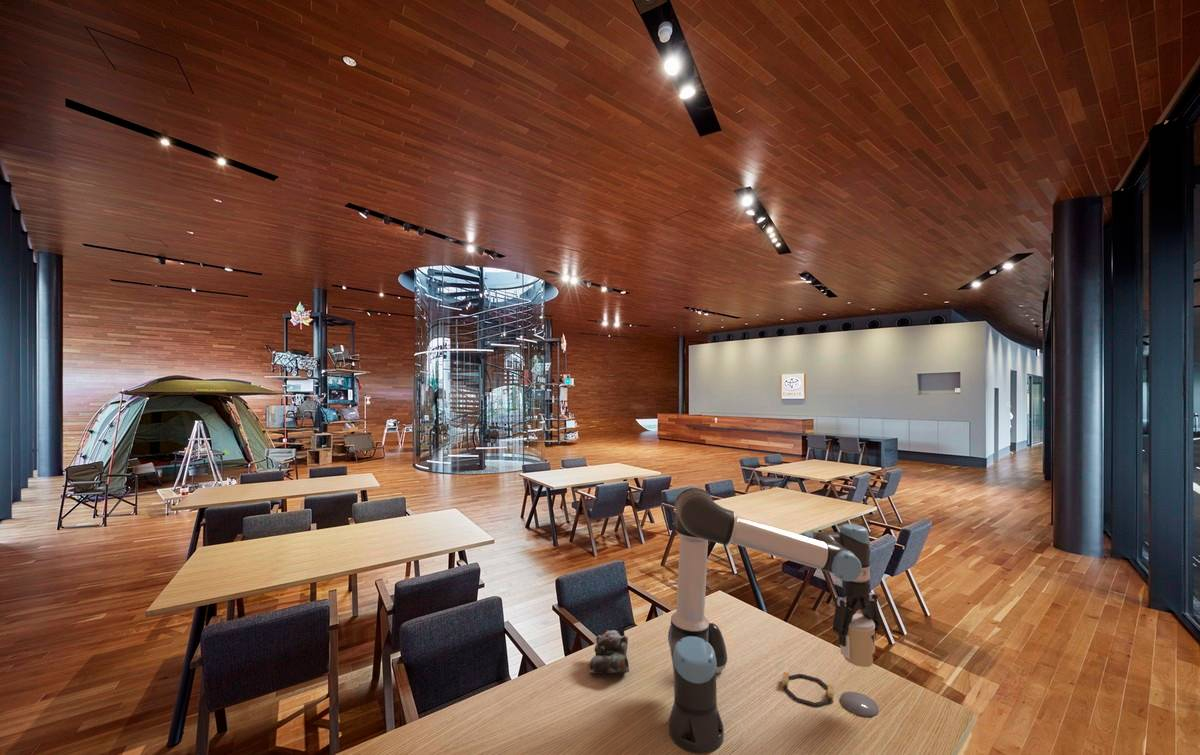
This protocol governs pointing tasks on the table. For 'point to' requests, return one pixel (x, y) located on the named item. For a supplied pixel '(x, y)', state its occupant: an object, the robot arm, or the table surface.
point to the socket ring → (830, 687)
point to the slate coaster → (859, 704)
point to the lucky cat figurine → (610, 653)
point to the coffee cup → (861, 641)
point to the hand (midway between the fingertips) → (857, 652)
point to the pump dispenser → (717, 646)
